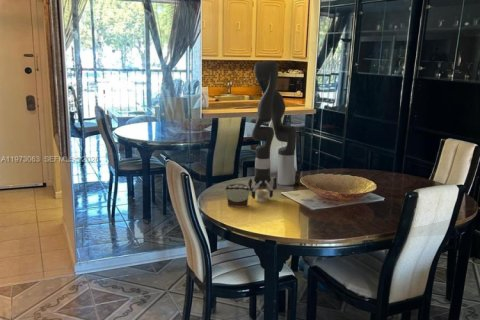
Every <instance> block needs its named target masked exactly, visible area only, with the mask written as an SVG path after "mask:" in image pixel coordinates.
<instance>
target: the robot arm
mask: <svg viewBox="0 0 480 320" xmlns="http://www.w3.org/2000/svg"><path fill="white" fill-rule="evenodd" d="M254 75H255V78H256V81H257V83H258V85H259V88H260V90H261V92H262V94H263V95H262V96H261V97H260V99H259V101H258V105H257V114H256V115H257V117H256V121H255V124H254V126H253V130H252V132H251V133H252V134H251V136H252V138H253V140H254V141H256V142H265V144H260V145H257V146H256V147H255V160H254V178H251V177H248V182H247V185H248V186H249V187H250V190H249V192H251V198H252V199H254V200H255V199H256V190H258V188H259V187H260V188H261V187H268V198H270V199H271V198H272V197H273V196H274V194H273V193H274V190H277V187H278V186H277V184H278V185H281V186H292V185H295V184H296V167H295V155H296V153H295V152H296V147H297V133H298V132H297V128H296V127H295V125H285V124H283V123H282V118H283V116H284V114H285V111H286V104H285V100H284V98H283V95H282V94H281V93H280V92H279V91H278V90H277V84H278V78H279V66H278V63H277V62H276V61H274V60H273V61H272V60H271V61H270V60H269V61H259V62H257V63H255V65H254ZM270 122H272V126H273V127H271V126H262V125H263V124H266V123H270ZM274 135H275V138H276V140H277V141H278V142H283V143H286V146H283V147H280V148H278V151H277V153H278V154H277V177H275V176H273V177H271V147H272V143H273V140H274ZM270 182H272V186H271V184H270ZM253 183H254V184H253ZM252 184H253V186H252Z"/></svg>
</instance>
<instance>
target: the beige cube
mask: <svg viewBox="0 0 480 320" xmlns="http://www.w3.org/2000/svg"><path fill="white" fill-rule="evenodd" d="M255 199H256V201H257V203H265V202H266V203H267V202H269V190H267V189H263V188H262V189H256V190H255Z"/></svg>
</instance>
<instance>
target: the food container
mask: <svg viewBox="0 0 480 320" xmlns="http://www.w3.org/2000/svg"><path fill="white" fill-rule="evenodd" d="M249 190H250V187H249V186H248V184H246V183H241V182H239V183H238V182H236V183H230V184H227V185H225V188H224V191H226V193H225V194H226V200H227V201H226V202H227V206H228V207H240V206H241V207H244V208H245V207H246V208H247V207H248V201H249V193H250V191H249ZM241 207H240V208H241Z"/></svg>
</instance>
